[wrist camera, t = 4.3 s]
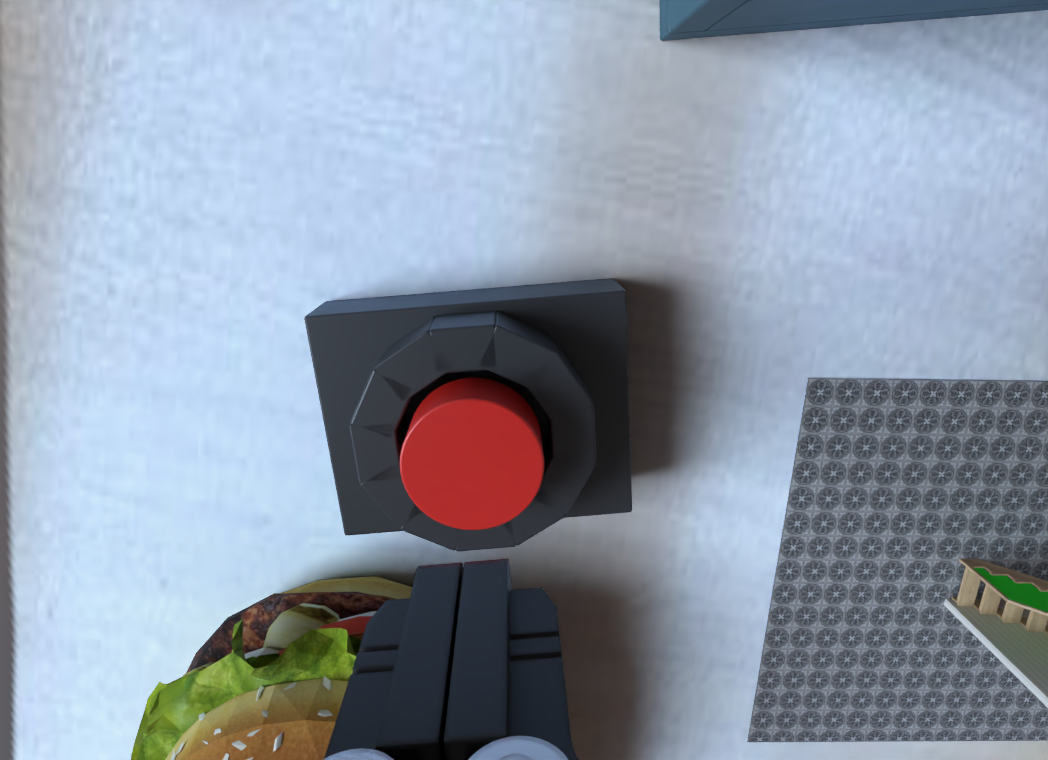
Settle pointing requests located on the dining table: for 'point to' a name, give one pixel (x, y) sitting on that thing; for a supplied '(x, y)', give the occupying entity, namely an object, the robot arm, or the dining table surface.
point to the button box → (477, 352)
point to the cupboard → (814, 14)
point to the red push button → (473, 454)
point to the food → (267, 677)
